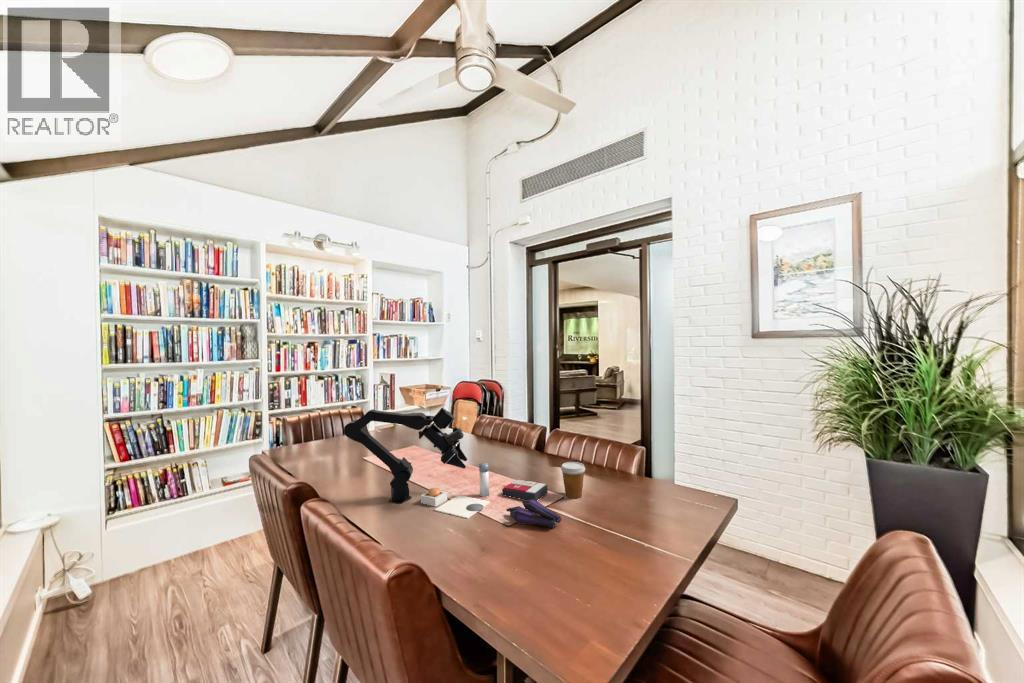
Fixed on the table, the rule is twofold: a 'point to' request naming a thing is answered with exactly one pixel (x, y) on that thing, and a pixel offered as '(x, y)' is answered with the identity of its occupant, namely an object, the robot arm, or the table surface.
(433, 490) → the button
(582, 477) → the disposable coffee cup
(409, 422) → the robot arm
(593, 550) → the table surface
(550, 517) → the purple stapler
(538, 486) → the red gray flat box
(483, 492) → the white gray cylinder
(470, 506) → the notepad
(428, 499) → the button housing
